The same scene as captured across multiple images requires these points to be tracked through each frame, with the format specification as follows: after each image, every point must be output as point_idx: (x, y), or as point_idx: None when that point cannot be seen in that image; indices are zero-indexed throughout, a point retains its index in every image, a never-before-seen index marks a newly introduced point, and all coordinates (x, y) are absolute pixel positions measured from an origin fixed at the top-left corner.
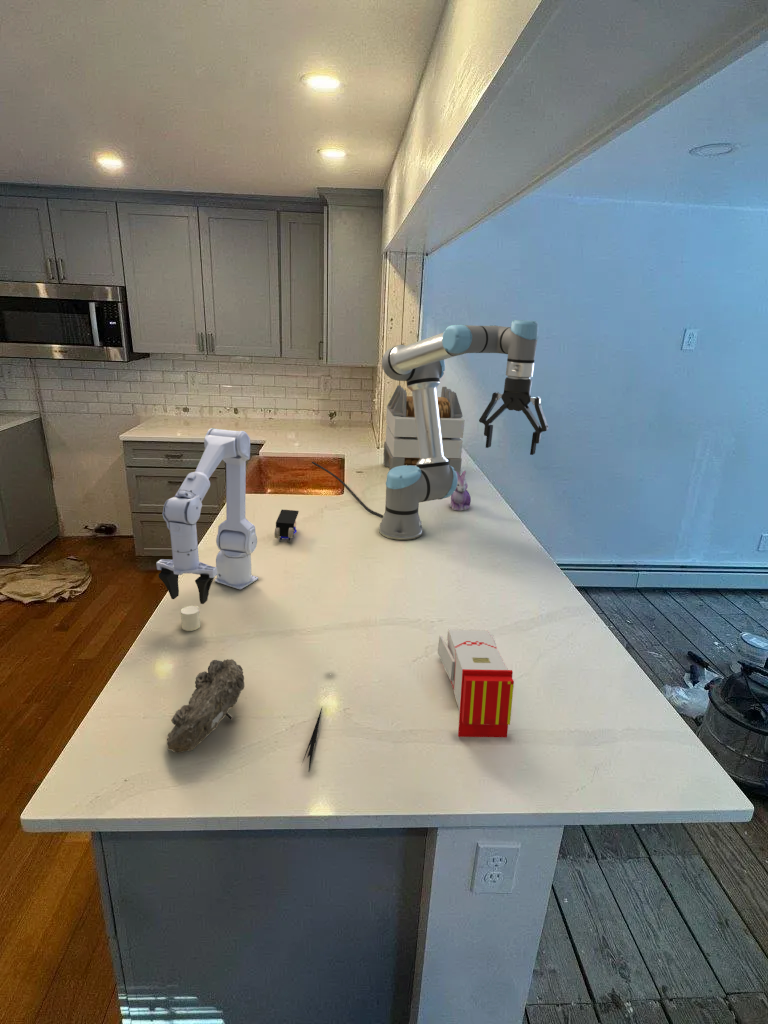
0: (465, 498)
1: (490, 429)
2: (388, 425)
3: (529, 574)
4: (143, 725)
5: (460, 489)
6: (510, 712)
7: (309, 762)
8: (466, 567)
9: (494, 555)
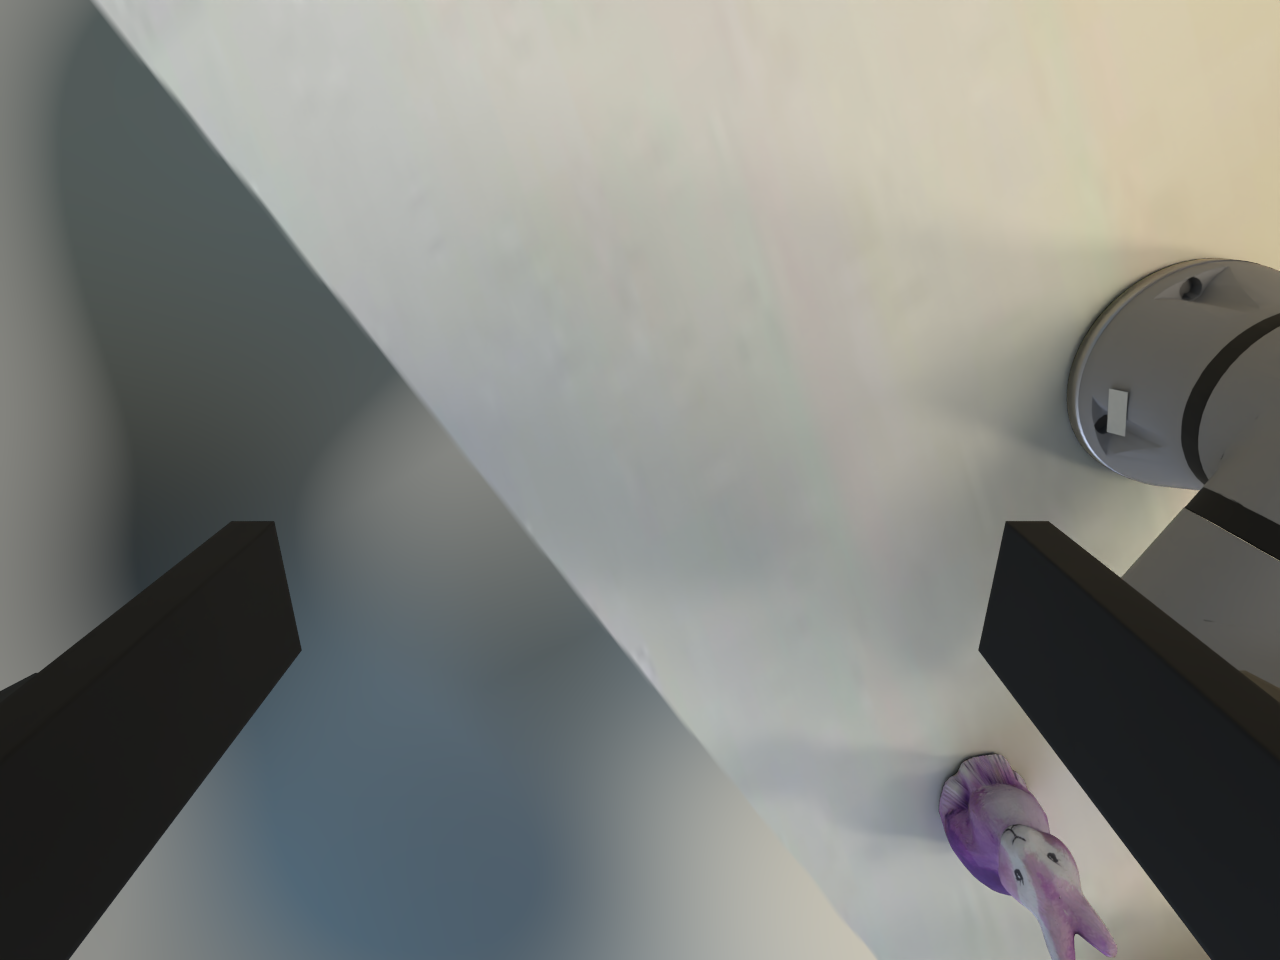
0: (976, 821)
1: (1248, 790)
2: None
3: (464, 265)
4: None
5: (1026, 834)
6: None
7: None
8: (745, 155)
9: (673, 377)
